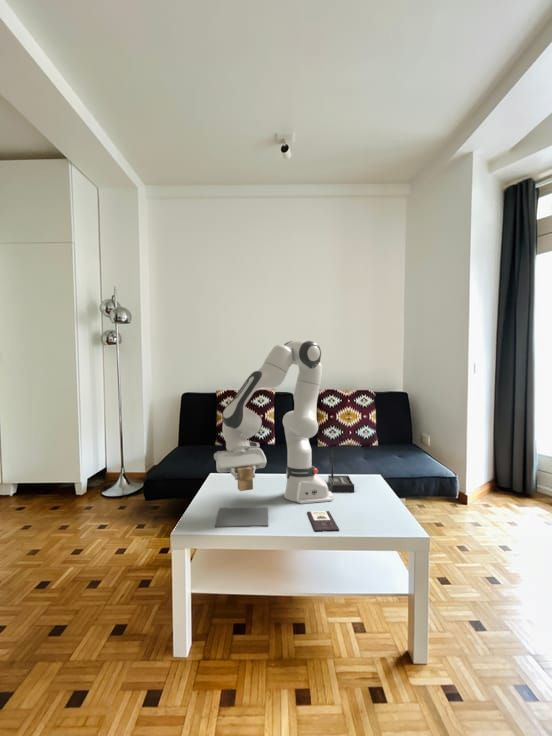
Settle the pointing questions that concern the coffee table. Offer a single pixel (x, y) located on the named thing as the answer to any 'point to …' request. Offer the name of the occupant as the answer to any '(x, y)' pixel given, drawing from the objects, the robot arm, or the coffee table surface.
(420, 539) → the coffee table surface
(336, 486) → the wireless controller
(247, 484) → the oak block
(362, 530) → the coffee table surface
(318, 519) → the chocolate bar
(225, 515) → the charcoal mat
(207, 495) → the coffee table surface
